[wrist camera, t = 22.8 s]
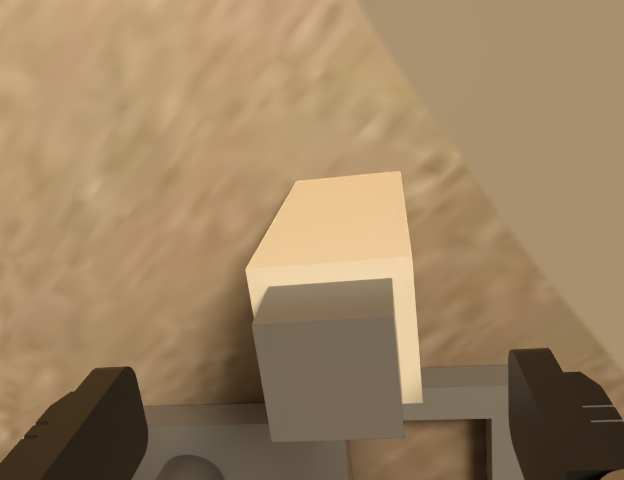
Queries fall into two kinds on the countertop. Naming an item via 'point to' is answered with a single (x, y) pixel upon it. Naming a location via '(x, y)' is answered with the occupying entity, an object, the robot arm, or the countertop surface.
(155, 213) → the countertop surface
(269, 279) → the plug
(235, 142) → the countertop surface
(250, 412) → the dock
